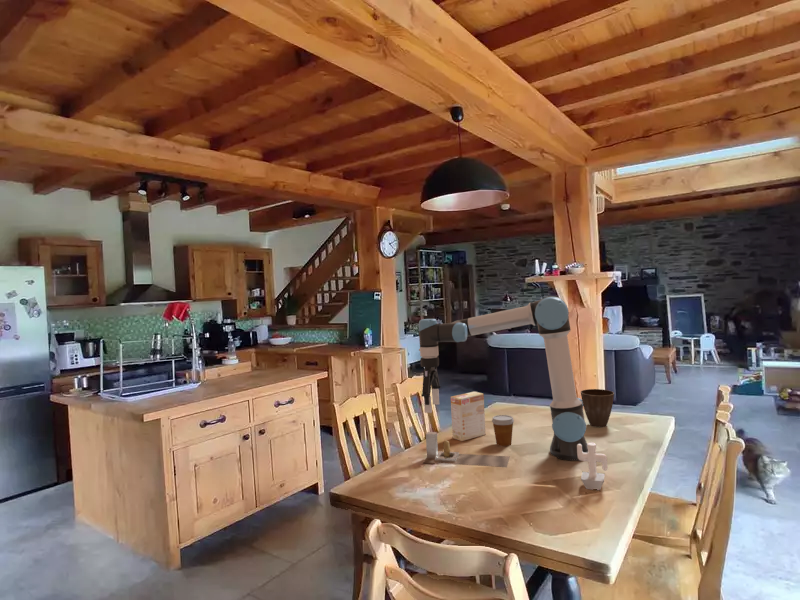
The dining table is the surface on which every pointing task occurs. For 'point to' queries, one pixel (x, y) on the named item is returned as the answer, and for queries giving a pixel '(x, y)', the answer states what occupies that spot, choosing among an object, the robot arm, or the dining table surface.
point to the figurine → (592, 466)
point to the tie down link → (433, 449)
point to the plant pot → (597, 406)
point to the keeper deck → (471, 459)
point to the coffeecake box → (468, 416)
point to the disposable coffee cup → (503, 429)
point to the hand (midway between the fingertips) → (432, 408)
